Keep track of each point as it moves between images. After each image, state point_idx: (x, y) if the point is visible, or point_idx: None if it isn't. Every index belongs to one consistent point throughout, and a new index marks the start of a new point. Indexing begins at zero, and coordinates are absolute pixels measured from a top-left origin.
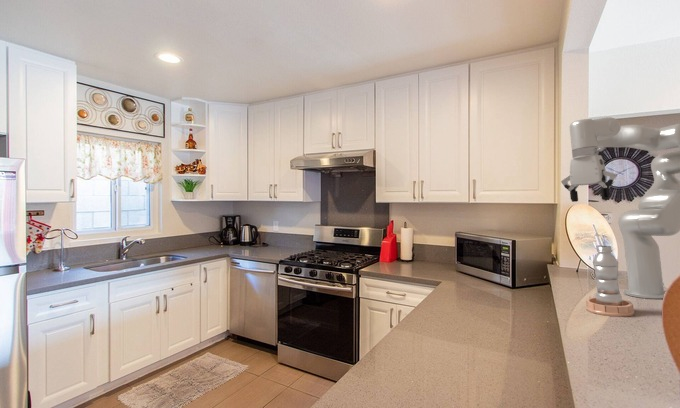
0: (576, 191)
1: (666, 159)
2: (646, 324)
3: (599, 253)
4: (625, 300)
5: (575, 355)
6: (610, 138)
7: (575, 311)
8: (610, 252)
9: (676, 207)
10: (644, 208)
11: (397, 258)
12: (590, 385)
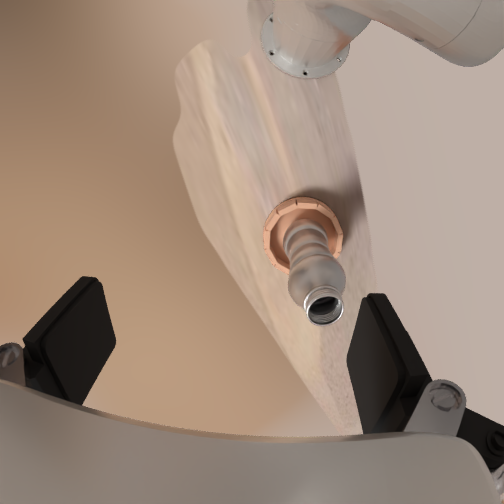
0: (52, 358)
1: None
2: (364, 273)
3: (312, 310)
4: (324, 209)
5: (325, 405)
6: None
7: (259, 275)
8: (337, 299)
9: None
10: None
11: None
12: (347, 428)
